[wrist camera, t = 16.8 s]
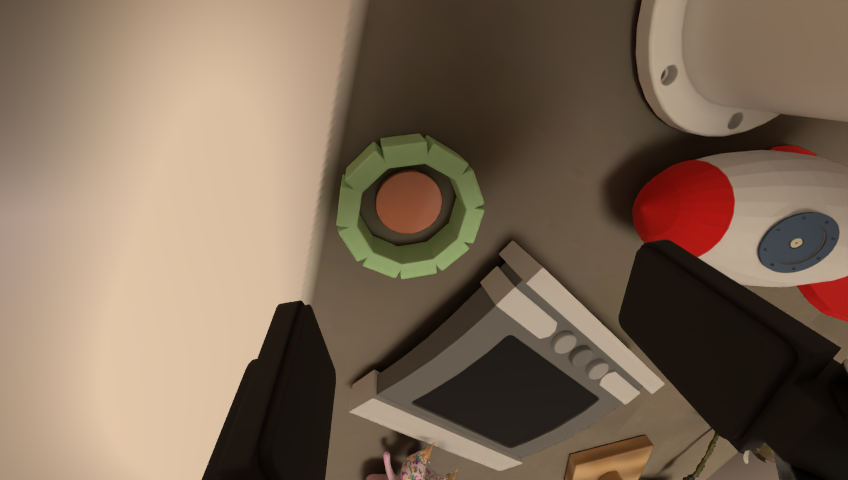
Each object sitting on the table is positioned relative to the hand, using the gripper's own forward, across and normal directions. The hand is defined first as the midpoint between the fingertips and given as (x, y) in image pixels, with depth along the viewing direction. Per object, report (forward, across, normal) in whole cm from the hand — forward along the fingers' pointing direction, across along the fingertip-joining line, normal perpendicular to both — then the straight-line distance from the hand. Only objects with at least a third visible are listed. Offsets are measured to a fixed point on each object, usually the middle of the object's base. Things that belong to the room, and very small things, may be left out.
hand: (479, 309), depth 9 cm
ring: (+10, +1, +1) cm, 10 cm away
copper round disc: (+10, +1, 0) cm, 10 cm away
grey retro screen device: (+10, -4, +16) cm, 19 cm away
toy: (+6, -30, +7) cm, 31 cm away
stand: (+10, -17, +37) cm, 42 cm away
